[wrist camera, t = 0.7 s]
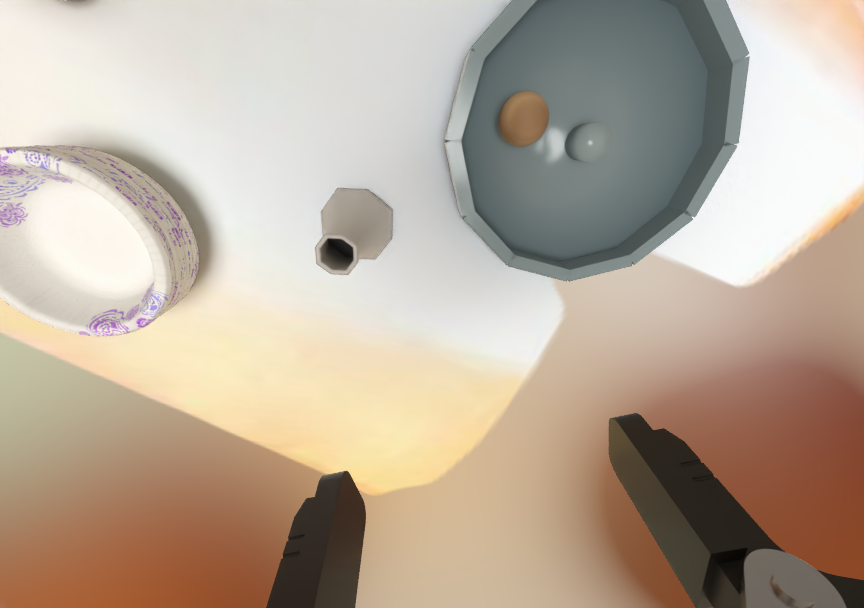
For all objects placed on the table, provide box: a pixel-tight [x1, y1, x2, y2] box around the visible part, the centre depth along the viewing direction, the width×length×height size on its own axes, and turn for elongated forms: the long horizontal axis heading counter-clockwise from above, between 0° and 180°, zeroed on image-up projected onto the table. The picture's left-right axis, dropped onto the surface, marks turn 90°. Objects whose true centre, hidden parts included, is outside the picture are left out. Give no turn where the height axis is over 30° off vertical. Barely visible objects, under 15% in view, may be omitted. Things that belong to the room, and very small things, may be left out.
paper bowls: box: [0, 145, 199, 336], centre depth 30 cm, size 15×15×8 cm
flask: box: [315, 188, 392, 275], centre depth 29 cm, size 7×7×10 cm
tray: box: [444, 0, 750, 281], centre depth 30 cm, size 24×24×4 cm
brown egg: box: [498, 91, 549, 147], centre depth 28 cm, size 4×4×4 cm
